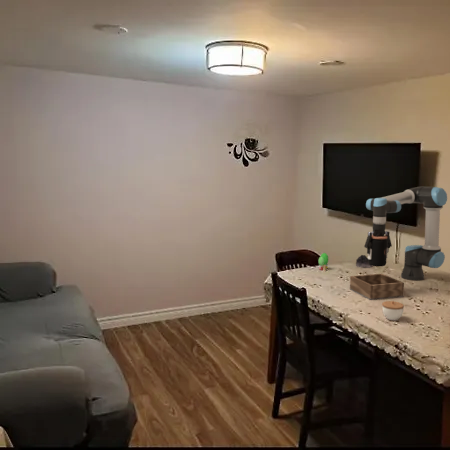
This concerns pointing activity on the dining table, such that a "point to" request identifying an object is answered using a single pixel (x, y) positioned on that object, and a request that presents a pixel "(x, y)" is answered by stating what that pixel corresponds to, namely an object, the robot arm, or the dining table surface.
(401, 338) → the dining table surface
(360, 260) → the crystal cluster
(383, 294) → the open wooden box
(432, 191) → the robot arm
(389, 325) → the dining table surface
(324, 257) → the green toy tree
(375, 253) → the coffee jar
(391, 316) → the lidded jar
